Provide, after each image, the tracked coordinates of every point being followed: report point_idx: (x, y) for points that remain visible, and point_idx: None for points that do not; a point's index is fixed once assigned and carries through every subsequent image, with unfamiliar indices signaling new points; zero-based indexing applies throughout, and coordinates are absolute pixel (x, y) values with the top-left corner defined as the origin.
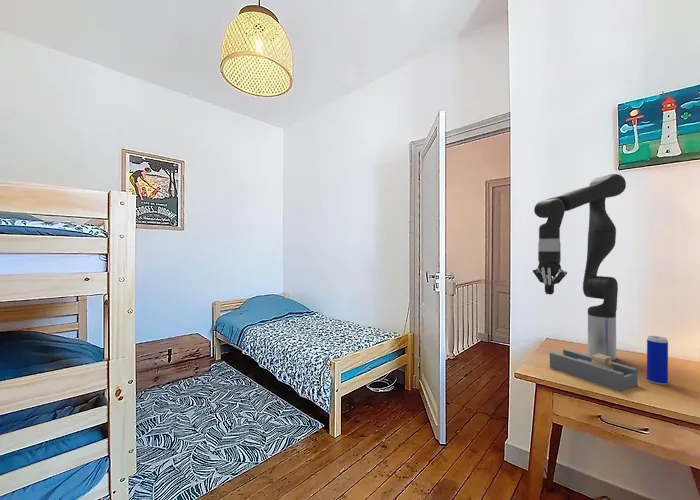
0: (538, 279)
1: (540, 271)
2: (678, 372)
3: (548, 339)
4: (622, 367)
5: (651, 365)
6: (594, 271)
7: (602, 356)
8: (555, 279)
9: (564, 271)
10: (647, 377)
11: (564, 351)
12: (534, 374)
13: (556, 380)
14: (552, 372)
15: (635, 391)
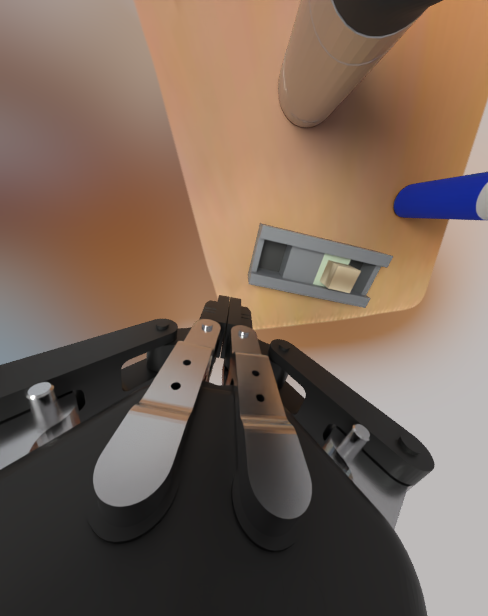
0: (130, 374)
1: (64, 425)
2: (470, 66)
3: None
4: (369, 263)
5: (423, 216)
6: None
7: (345, 279)
8: (286, 408)
9: (411, 486)
10: (396, 209)
11: (262, 238)
12: None
13: (275, 322)
14: (260, 296)
15: None
